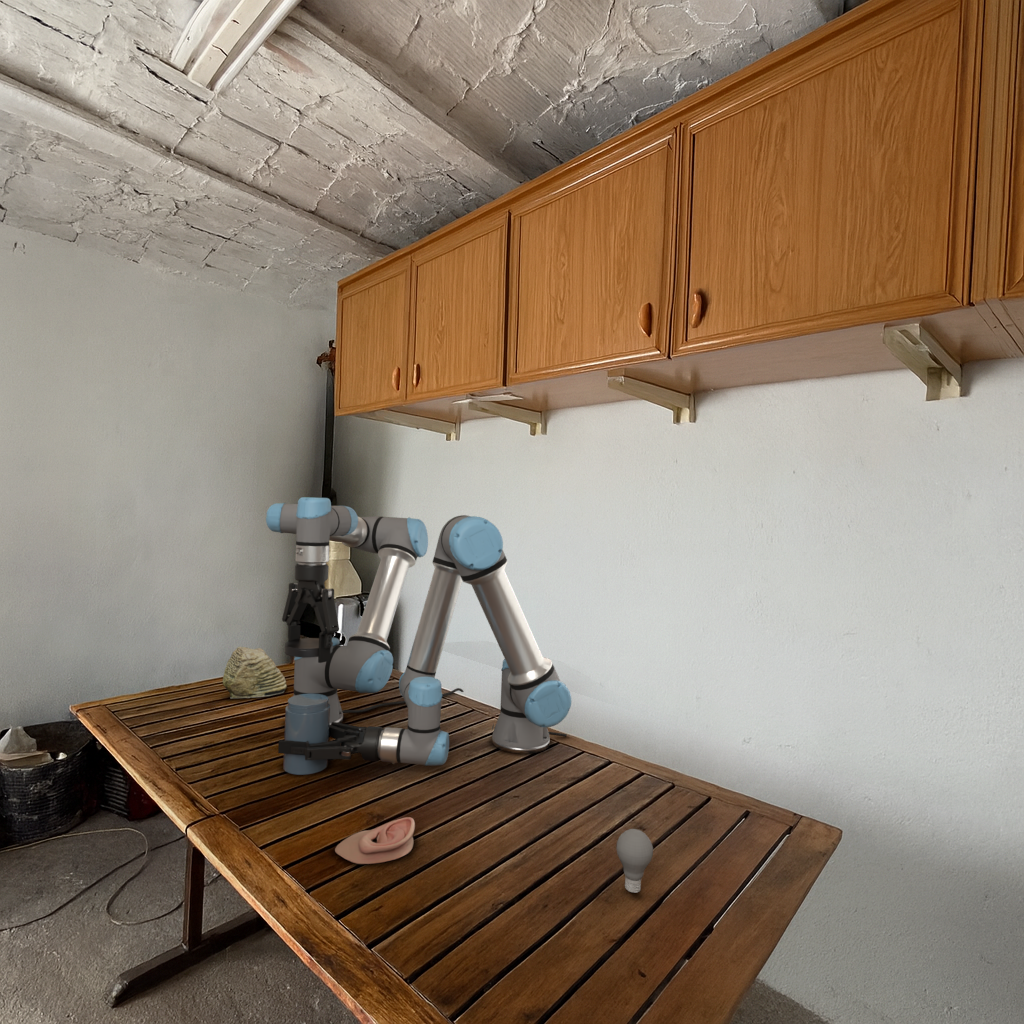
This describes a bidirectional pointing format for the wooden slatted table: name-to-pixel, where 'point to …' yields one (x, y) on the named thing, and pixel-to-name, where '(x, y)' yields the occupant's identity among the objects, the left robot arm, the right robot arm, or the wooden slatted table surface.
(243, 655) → the fossil
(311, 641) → the lid
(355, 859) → the anatomical model
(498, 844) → the wooden slatted table surface
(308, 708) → the jar
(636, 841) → the light bulb
